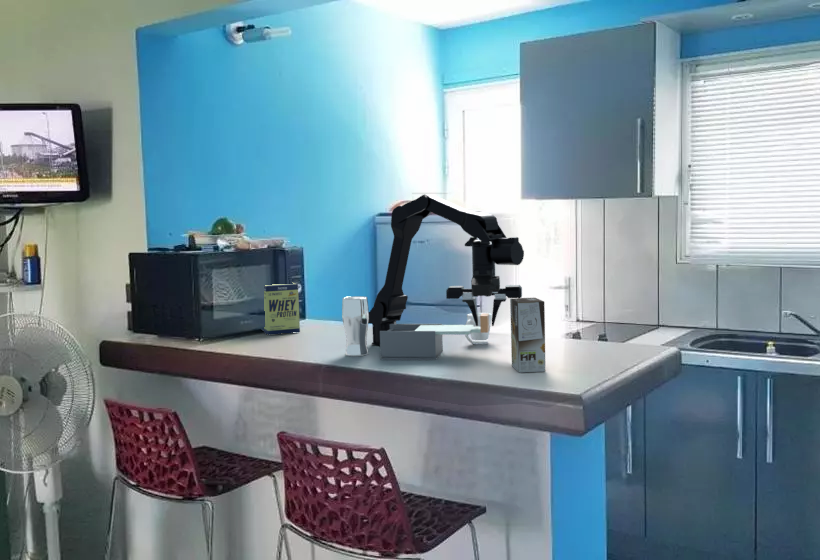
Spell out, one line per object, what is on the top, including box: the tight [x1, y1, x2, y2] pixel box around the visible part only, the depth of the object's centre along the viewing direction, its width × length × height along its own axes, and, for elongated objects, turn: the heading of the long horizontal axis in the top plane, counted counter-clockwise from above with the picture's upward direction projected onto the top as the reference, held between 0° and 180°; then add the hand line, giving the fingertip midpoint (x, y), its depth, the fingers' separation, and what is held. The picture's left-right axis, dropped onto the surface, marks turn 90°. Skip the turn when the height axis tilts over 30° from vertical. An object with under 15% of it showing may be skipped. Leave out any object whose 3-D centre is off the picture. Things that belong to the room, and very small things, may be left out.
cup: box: [464, 312, 492, 345], centre depth 221 cm, size 7×10×8 cm
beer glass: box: [341, 295, 370, 357], centre depth 210 cm, size 7×7×15 cm
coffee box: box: [509, 297, 546, 373], centre depth 184 cm, size 9×6×16 cm
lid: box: [415, 312, 490, 336], centre depth 204 cm, size 18×11×4 cm, turn 80°
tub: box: [379, 323, 444, 361], centre depth 206 cm, size 14×13×7 cm
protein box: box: [263, 282, 301, 336], centre depth 257 cm, size 10×16×16 cm
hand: (485, 325), depth 203 cm, fingers open, 4 cm apart
